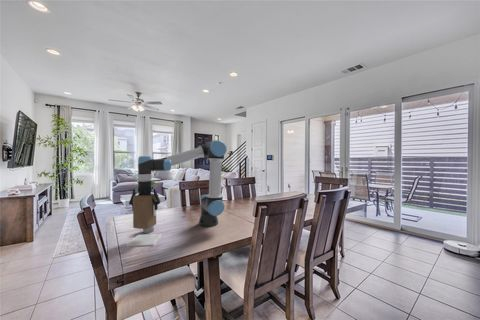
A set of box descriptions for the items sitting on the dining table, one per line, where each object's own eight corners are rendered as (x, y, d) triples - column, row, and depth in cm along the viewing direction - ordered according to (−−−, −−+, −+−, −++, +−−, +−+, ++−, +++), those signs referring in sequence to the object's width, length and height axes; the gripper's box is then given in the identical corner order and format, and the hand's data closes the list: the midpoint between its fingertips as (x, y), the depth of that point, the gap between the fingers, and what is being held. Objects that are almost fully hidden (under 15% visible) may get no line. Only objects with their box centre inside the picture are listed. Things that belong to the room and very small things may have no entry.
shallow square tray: (162, 235, 137) (162, 233, 137) (154, 245, 121) (154, 244, 121) (137, 235, 136) (137, 234, 136) (126, 246, 120) (126, 244, 120)
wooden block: (147, 229, 122) (146, 196, 122) (132, 228, 124) (132, 196, 124) (156, 224, 132) (156, 193, 132) (143, 223, 134) (143, 193, 134)
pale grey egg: (155, 229, 148) (155, 218, 148) (151, 233, 141) (151, 221, 141) (145, 229, 148) (145, 218, 147) (141, 233, 141) (141, 221, 140)
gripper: (165, 179, 133) (165, 213, 133) (128, 180, 131) (128, 214, 131) (162, 181, 125) (162, 216, 125) (122, 181, 123) (122, 217, 124)
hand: (145, 215), depth 128 cm, fingers closed on wooden block, 11 cm apart
